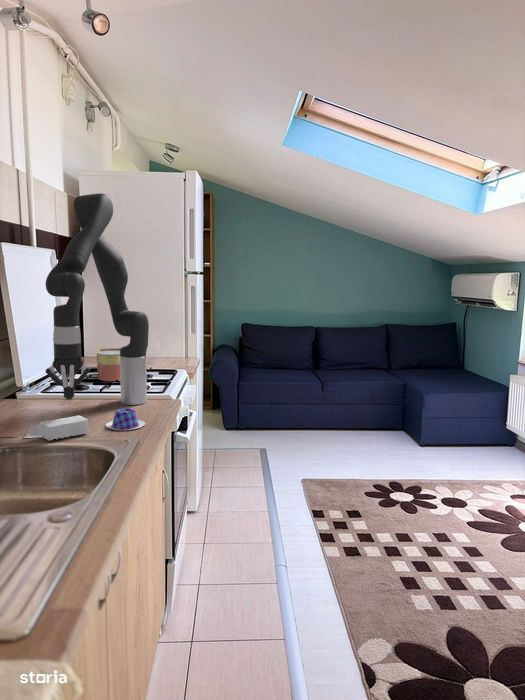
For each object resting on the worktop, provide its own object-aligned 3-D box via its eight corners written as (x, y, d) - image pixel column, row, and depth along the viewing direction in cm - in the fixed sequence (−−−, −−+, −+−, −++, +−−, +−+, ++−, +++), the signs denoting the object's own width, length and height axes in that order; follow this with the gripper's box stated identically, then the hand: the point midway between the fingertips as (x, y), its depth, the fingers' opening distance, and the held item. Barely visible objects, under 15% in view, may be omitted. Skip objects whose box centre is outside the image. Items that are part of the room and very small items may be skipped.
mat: (29, 428, 166) (29, 427, 166) (77, 426, 169) (77, 425, 169) (23, 438, 156) (23, 437, 156) (74, 436, 160) (74, 435, 160)
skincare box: (80, 428, 166) (40, 436, 158) (79, 414, 165) (39, 421, 157) (89, 433, 162) (48, 441, 154) (88, 419, 161) (47, 426, 153)
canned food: (128, 377, 242) (128, 350, 241) (119, 383, 231) (119, 355, 230) (104, 376, 244) (103, 350, 242) (94, 381, 232) (93, 354, 231)
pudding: (126, 419, 180) (125, 403, 179) (153, 425, 173) (153, 409, 173) (97, 427, 170) (97, 411, 169) (124, 434, 163) (124, 417, 162)
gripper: (91, 339, 165) (93, 395, 168) (45, 339, 162) (47, 396, 165) (90, 342, 158) (91, 401, 160) (41, 343, 155) (43, 403, 157)
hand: (69, 399), depth 162 cm, fingers closed
